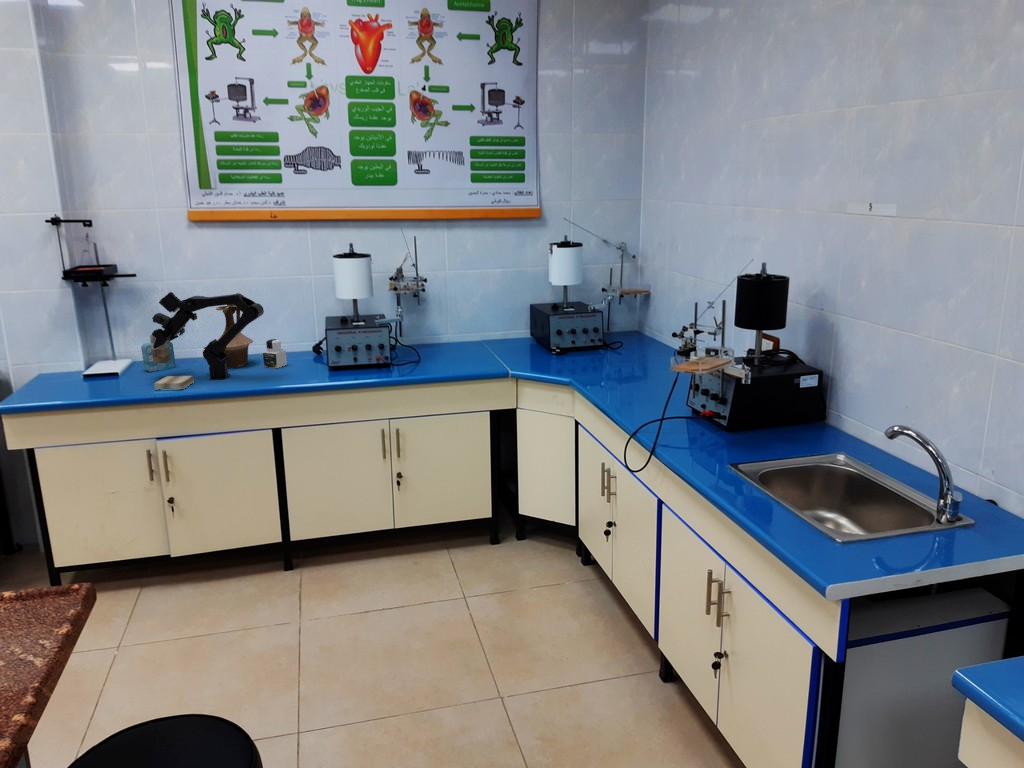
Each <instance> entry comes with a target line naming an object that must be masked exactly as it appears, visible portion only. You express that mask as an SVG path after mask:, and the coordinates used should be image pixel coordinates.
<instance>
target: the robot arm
mask: <svg viewBox="0 0 1024 768" xmlns="http://www.w3.org/2000/svg"><path fill="white" fill-rule="evenodd" d="M158 303H159V305H160V306H162V308H164V309H165V310H166V311H167V312H168V313H175V314H173V316H171V317H170V316H169V315H166V314H164V313H161V312H156V313H154V315H153V317H152V322H153V323H156V324H158V325H161V328H157V329H155V330H153V332H151V334H152V335H153V336H154V337H155V338H156V340H155V343H154V345H153V348H154V349H155V348H157V347H159V346H161V345H163V344H165V343H167V342H172V341H173V340H175V339H177V338H179V337H181V336H183V335H184V333H186V329H185V327H186V325H187V323H188V322H189V321H190V320H192V321H193V322H194V321H196V320H197V319H198V314H197V313H196V311H200V310H203V309H205V308H211V307H220V306H227V305H229V304H235V305H236V306H237V307H238V308H239V310H240V312H242V313H241V314H240V319H239V320H238V321H237V322H235V324H234V325H233V326H232V327H231V328H230V329H229V330H228V331H227V332H226V333H225V334H224V335H223V336H222V335H221V336H222V337H221V336H220V337H221V338H220V337H219V338H220V339H219V338H218V339H219V340H218V339H216V338H215V339H213V340H211V341H209V342H208V344H207V345H206V346H204V347H203V351H202V357H203V358H204V360H205V361H206V362H207V365H208V366H209V367H208V371H209V379H210V380H225V379H227V378H228V377H229V376H231V373H229V368H228V366H227V362H225V361H227V360H228V355H227V354H225V353H224V350H225V349H226V346H227V345H228V344H229V343H230V342H231V341H232V340H233V339H234V338H235V337H236V336H237V335H238V334H239V333H240V332H241V333H242V331H244V329H245V328H246V327H247V326H249V324H250V323H253V322H254V321H255V320H257V319H258V318H260V317H261V316H263V315H264V312H265V311H264V307H263V306H262V304H261V303H259V302H255V301H254V300H252V299H250V298H248V297H246V296H245V295H243V294H242V293H240V292H237V293H235V294H234V293H233V294H232V293H231V294H225V295H224V294H223V295H218V296H217V295H215V296H203V295H192V296H190V297H188V298H185V299H179V297H177V296H176V295H175V293H174V292H172V291H170V292H168V293H167V294H166V295H165V296H164V297H162V298H161V299H160V300H159V302H158ZM217 340H218V341H217ZM226 377H227V378H226Z"/></svg>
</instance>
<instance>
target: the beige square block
mask: <svg viewBox="0 0 1024 768" xmlns="http://www.w3.org/2000/svg"><path fill="white" fill-rule="evenodd" d="M192 383H193V384H194V383H195V379H194V375H166V376H165V377H164V376H163V378H161V379H159V380H157V381H156V382H154V383H153V385H154V391H155V390H156V389H184V388H185V387H187V386H189V385H190V384H192ZM193 384H192V385H193ZM190 386H191V385H190ZM190 386H189V387H190ZM187 388H188V387H187ZM184 390H185V389H184Z"/></svg>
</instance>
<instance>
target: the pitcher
mask: <svg viewBox="0 0 1024 768" xmlns="http://www.w3.org/2000/svg"><path fill="white" fill-rule="evenodd" d="M215 310H216V311H222V313H223V315H224V318H225V328H224V331H223V332H222V334H221V335H220V337H219V338H218V339H216V340H217V341H218V340H219V339H220V338H221V337H222V336H223V335H224V334H225V333H226V332H227V331H228V330H229V329H230V328H231V327H232V326H233V325H234V324H235V323H236V322H237V321H238V320H239V319H240V317H241V311H240V310H239V308H238V307H237V306H236V305H235V304H229V305H220V306H216V308H215ZM234 314H235V315H236V320H235V318H234ZM235 321H236V322H235ZM253 342H254V340H253V339H252V338H250V337H248V336H247V335H245V334H243V333H242V331H241V332H240V333H239V334H238V335H237V336H236V337H235V338H234V339H233V340H232V341H231V342H230V343H229V344H228V345H227V346H226V349H225V350H224V353H225V354H227V355H228V360H227V361H225V362H227V366H228V369H231V368H232V369H234V367H236V368H241V367H246V366H247V365H248V364H249V345H250V344H252V343H253Z"/></svg>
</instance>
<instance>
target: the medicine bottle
mask: <svg viewBox="0 0 1024 768" xmlns="http://www.w3.org/2000/svg"><path fill="white" fill-rule="evenodd" d="M265 345H266V350H265V351H263V352H262V357H263V366H264V367H263V368H265V367H269V368H268V369H275V368H278V369H280V368H283V367H285V365H286V366H287V365H288V362H287V361H288V360H287V350H286V349H282V342H281V340H280V339H277V338H275V339H274V338H272V339H268V340H266V343H265ZM282 366H283V367H282ZM279 367H280V368H279Z"/></svg>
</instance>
